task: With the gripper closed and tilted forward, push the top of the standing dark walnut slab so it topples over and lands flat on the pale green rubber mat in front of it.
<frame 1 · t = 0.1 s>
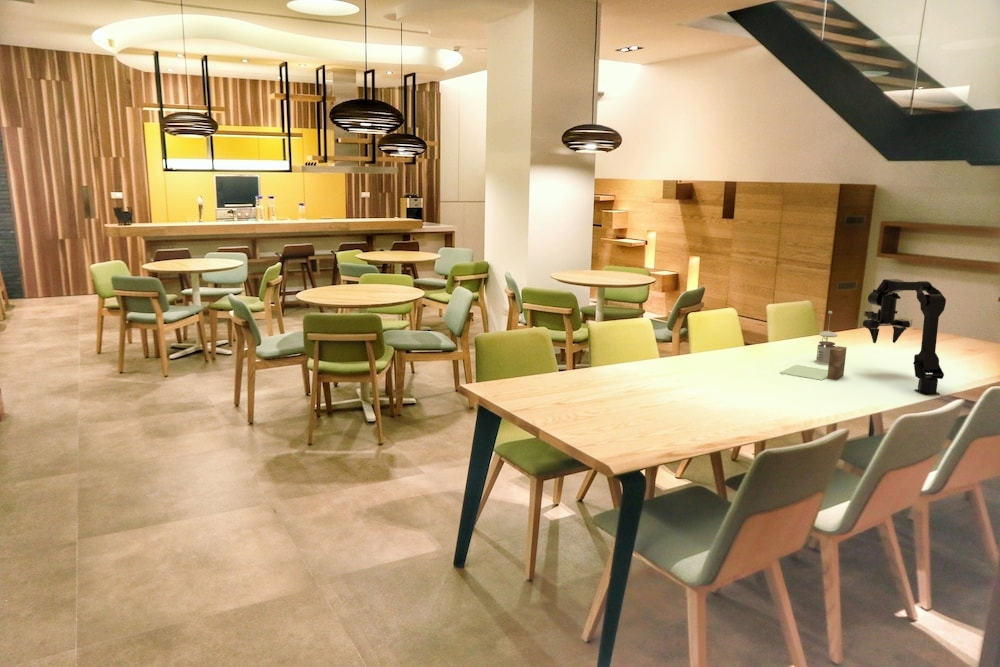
hand: (884, 342, 305), 15 cm above the table, tool pointing down, fingers open, 9 cm apart
mat: (808, 372, 311), on the table
french press: (824, 362, 331), on the table
slab: (835, 377, 304), on the table
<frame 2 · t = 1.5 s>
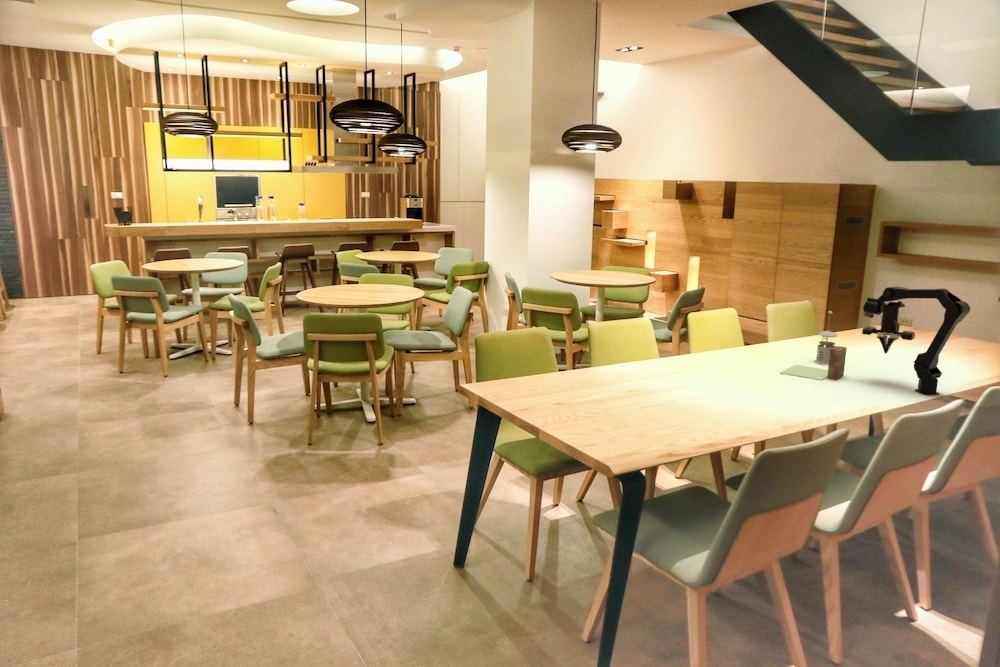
hand: (885, 353, 292), 13 cm above the table, tool pointing down, fingers closed
nothing on the table moved.
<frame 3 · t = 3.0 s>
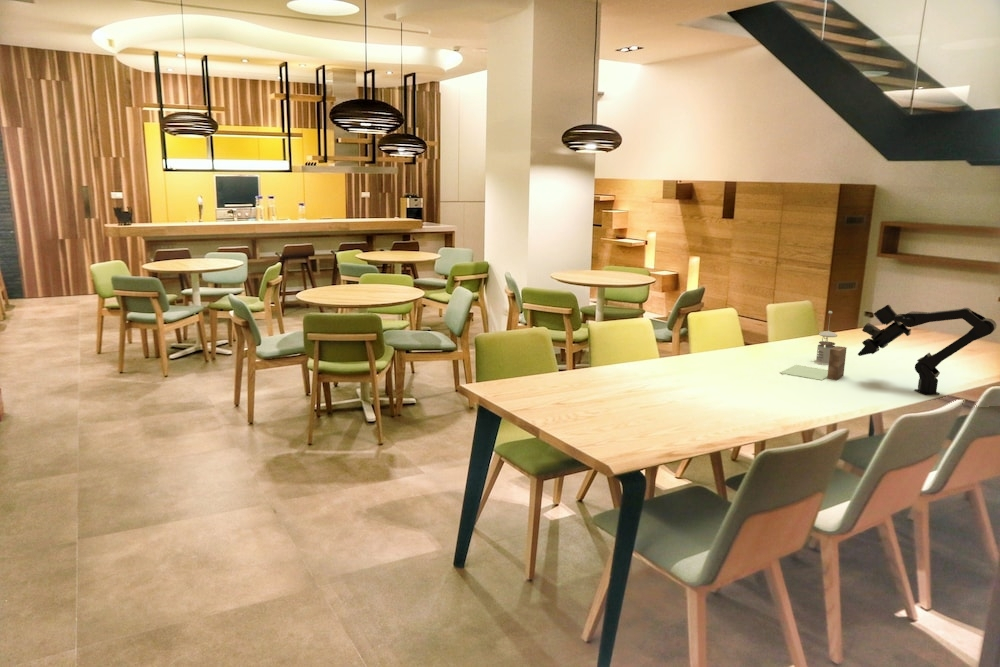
hand: (858, 354, 296), 11 cm above the table, tool tilted 45°, fingers closed
nothing on the table moved.
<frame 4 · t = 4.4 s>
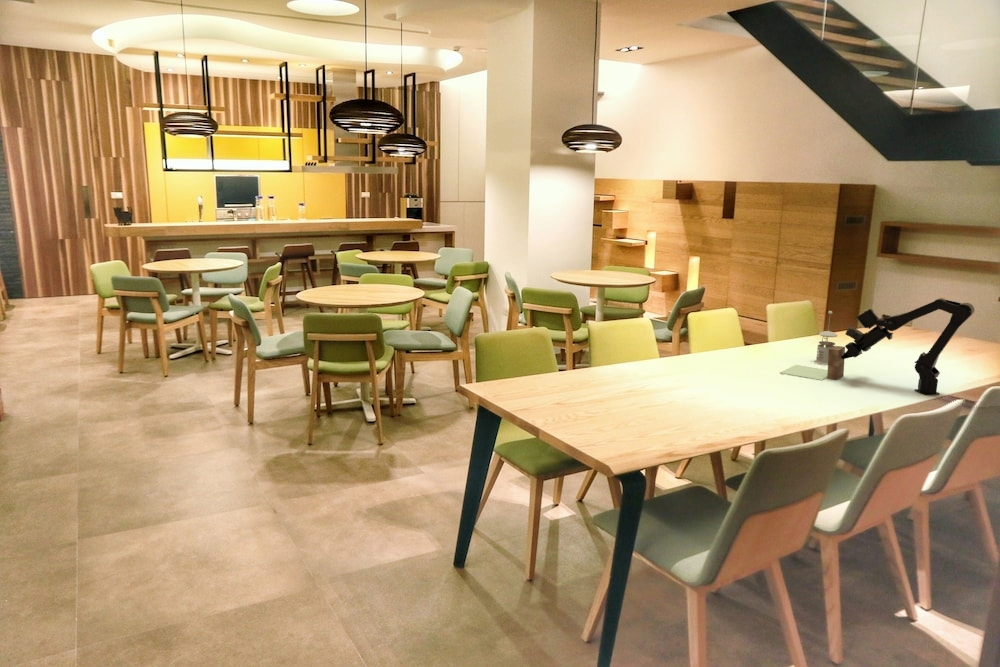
hand: (841, 358, 301), 9 cm above the table, tool tilted 45°, fingers closed, pressing on slab
slab: (835, 377, 304), on the table, touching gripper
everything else where it was.
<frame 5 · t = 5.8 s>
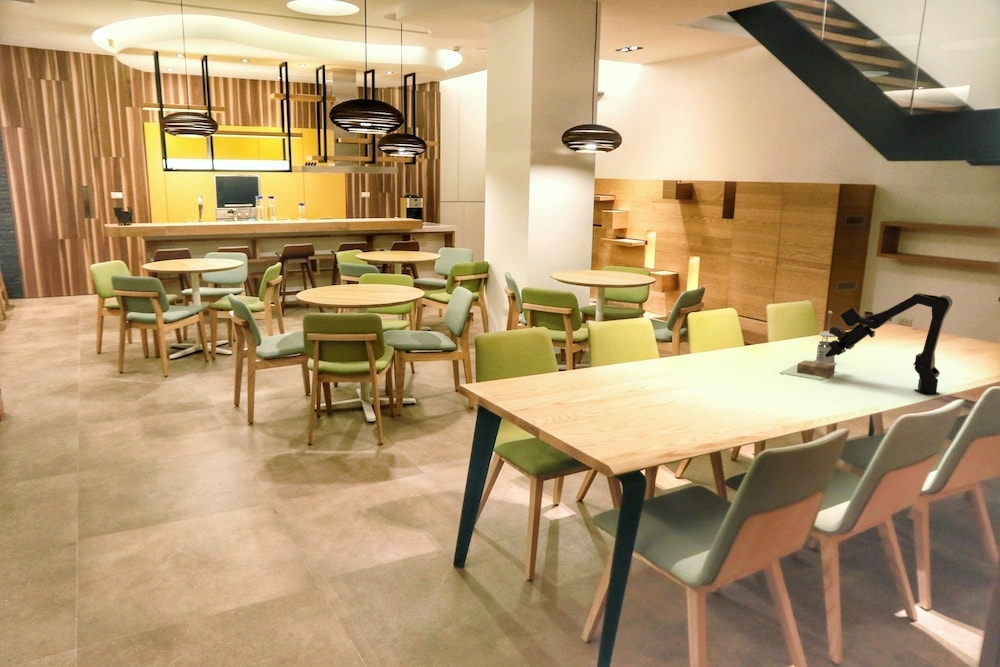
hand: (826, 356, 305), 9 cm above the table, tool tilted 45°, fingers closed
slab: (831, 371, 304), point 2 cm above the table, tilted 90°, touching mat
everything else where it was.
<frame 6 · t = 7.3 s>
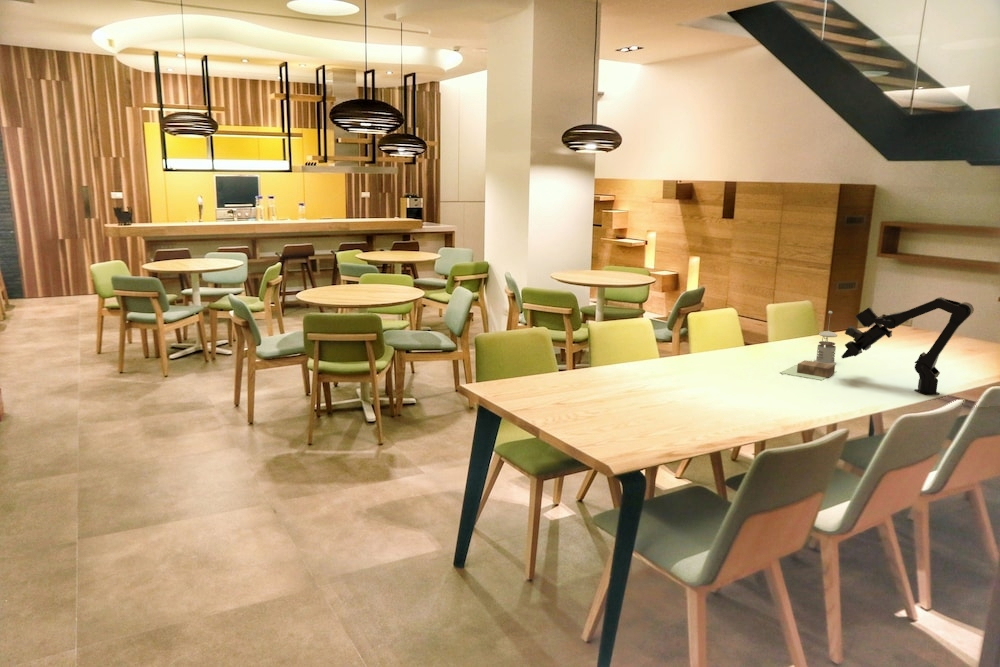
hand: (842, 357, 301), 9 cm above the table, tool tilted 45°, fingers closed
nothing on the table moved.
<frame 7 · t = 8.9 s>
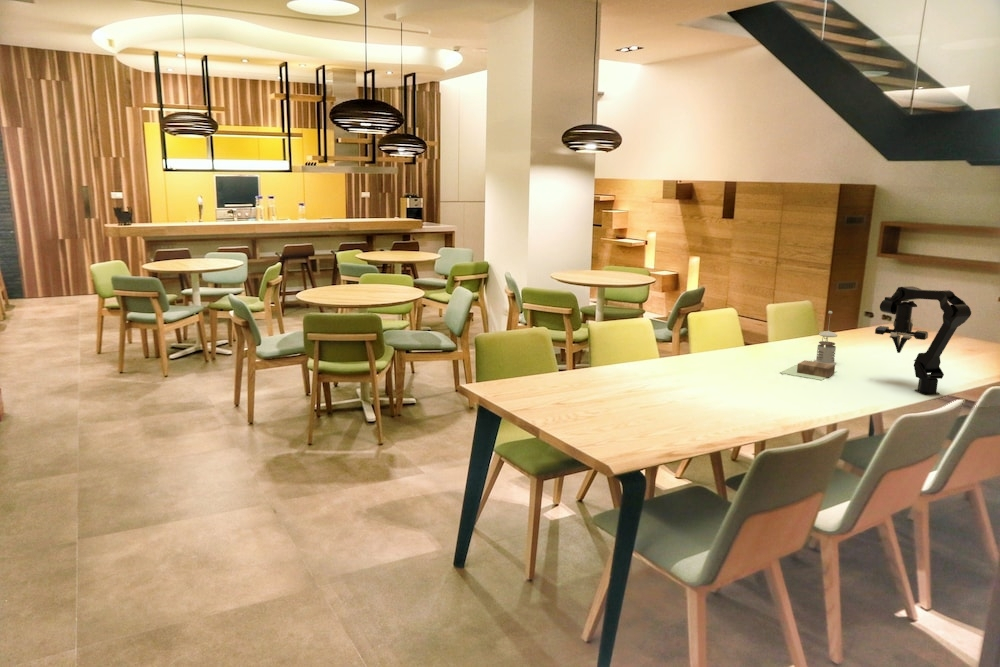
hand: (898, 352, 293), 13 cm above the table, tool pointing down, fingers closed
nothing on the table moved.
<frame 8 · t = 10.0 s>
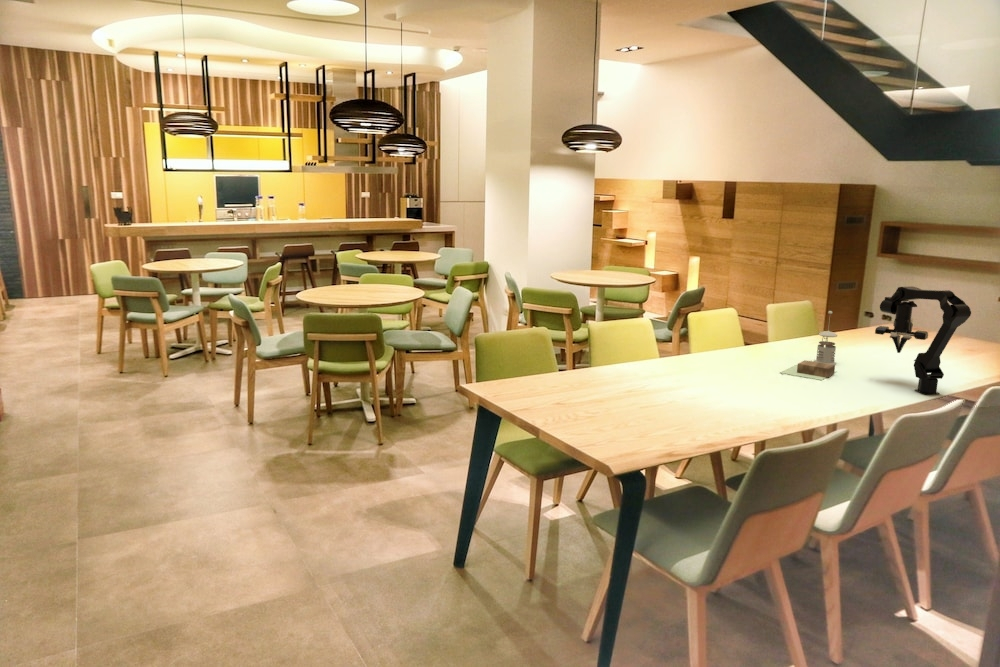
hand: (898, 352, 293), 13 cm above the table, tool pointing down, fingers closed
nothing on the table moved.
at the end: slab tilted 90°; slab 9.6 cm from the mat (horizontally); slab point 2.3 cm above the table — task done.
